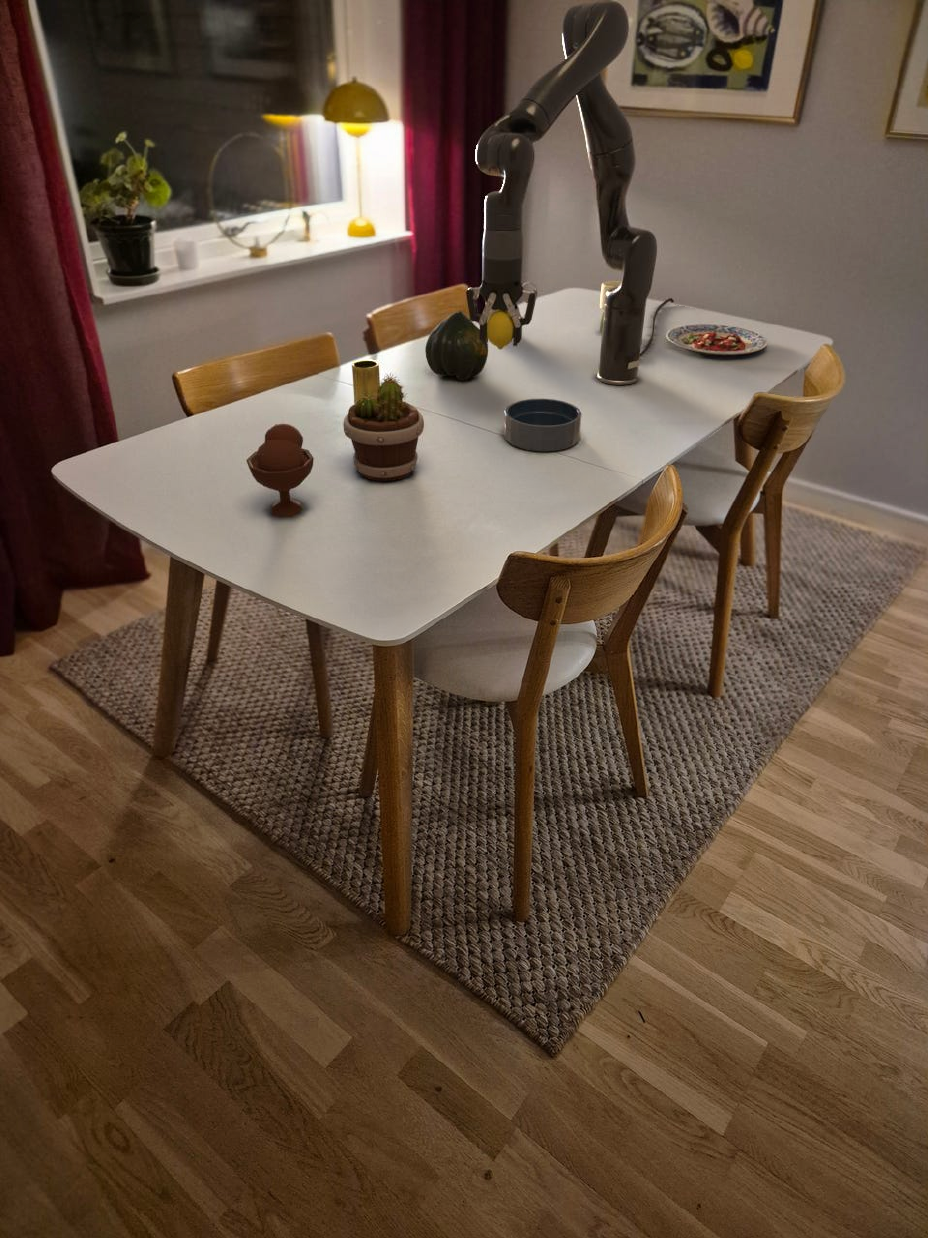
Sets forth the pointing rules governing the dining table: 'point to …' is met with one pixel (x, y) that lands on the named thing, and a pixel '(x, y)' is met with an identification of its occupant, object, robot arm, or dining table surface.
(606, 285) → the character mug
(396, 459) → the flowerpot
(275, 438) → the ice cream bowl
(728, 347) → the ceramic plate
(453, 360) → the squash
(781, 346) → the dining table surface
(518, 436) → the bowl
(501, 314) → the lemon
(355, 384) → the vase
